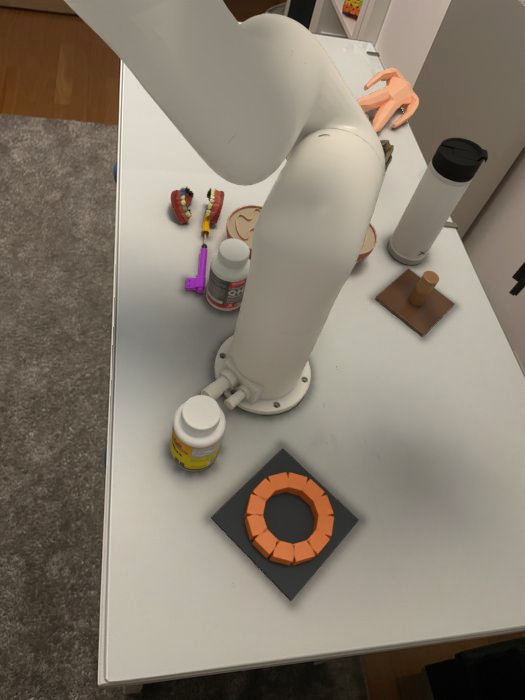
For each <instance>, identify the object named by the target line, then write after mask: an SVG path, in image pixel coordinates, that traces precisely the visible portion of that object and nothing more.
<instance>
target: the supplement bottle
mask: <svg viewBox="0 0 525 700" xmlns="http://www.w3.org/2000/svg"><path fill="white" fill-rule="evenodd" d="M226 422H227V421H226V416H225V414H224V412H223V410H222V409H221V406H220V405H219V403H218V402H217V401H216V400H214V399H212V398H211V397H209V396H205V395H202V394H196V395H193V396H191V397H189V398H188V399H186V401H184V402H183V403H181V404H180V405H179V407H178V408H177V409H176V411H175V413H174V416H173V419H172V427H171V428H172V429H171V438H170V454H171V457H172V459H173V462H175V464H176V465H177V466H178V467H180V468H181V469H183V470H185V471H188V472H200V471H203V470H204V471H205V470H206V469H208V468H210V467H211V466H212V465H213V464H214V463H215V461H216V460H217V457H218V455H219V451H220V448H221V445H222V441H223V437H224V434H225V431H226V425H227V423H226Z"/></svg>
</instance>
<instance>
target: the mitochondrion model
mask: <svg viewBox="0 0 525 700" xmlns="http://www.w3.org/2000/svg"><path fill="white" fill-rule="evenodd" d="M262 207H263V205H256V204H249V205H243V206H240V207H237V208H235V209H234V210H232V212H231V213H230V214H229V215H228V217H227V219H226V226H225V227H226V229H225V232H226V237H227V239H231V238H233V239H239V240H241V241H243V242H244V243H246V244H247V246H248V247H249V250H250V254H249V260H250V261H251V252H252V239H253V233H254V229H255V225H256V222H257V219H258V217H259V214H260V211H261V209H262ZM377 243H378V233H377V230H376V228H375V226H374V225H373V224H372V223H371V222H370V224H369V228H368V231H367V234H366V237H365V240H364V243H363V246H362V248H361V251H360V254H359V256H358V259H357V261H356V263H359V262H361V261H363V260H364V259H366V258H367V257H369V255H371V253H372V252H373V251H374V249H375V247H376V246H377Z"/></svg>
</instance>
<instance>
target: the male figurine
mask: <svg viewBox="0 0 525 700" xmlns="http://www.w3.org/2000/svg"><path fill="white" fill-rule="evenodd" d="M379 82H385V86H384V87H382V88H380V89H377V90H375V91H373V92H371V93H369V94H368V95H365V96H361V97H360V98H358V99H356V100H357V102H358V103H359V105H360V106H361V108H362V110H363V111H365V112H366V111H374V110H375V111H377V112H376V113H375V115H374V118H373V120H372V122H371V125H372V126H373V128H374V130H375V132H376V134H378V133H379V132H380V131H382V130H383V129H384V127H385V126H386V124H387V123H388V122H389V121H390V120H391V119H392V117H393V115H394V114H395V112H396V111H397V110H398V109H400V108H402V109H405V110H404V113H403V114H401V116H400V117H399V118H398V119H397V120H395V121H394V122H393V123H392V124H391V128H392V129H396V128H398V127H399V126H401V125H402V124H404V123H406V122H408V121H409V120H410V119H411V118H412V117H413V115H414V114H415V113H416V110H417V109H418V107H419V105H420V98H419V96H418V95H417V93H415V91H414V90H413V87H412V85H411V83H410V82H409V81H408V80H407V79H406V78H404V76H403V74H402V73H401V71H400V70H399V69H398V68H394V67H390V68H387V69H383V70H381V71H378V72H377V73H375V74H374V75H373V76H372V77H371V78H370V79H369V81H368V82H367V83H366V84H364V86H363V90H364V91H367V90H369V89H370V88H371V87H373V86H374V85H376V84H377V83H379Z"/></svg>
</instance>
